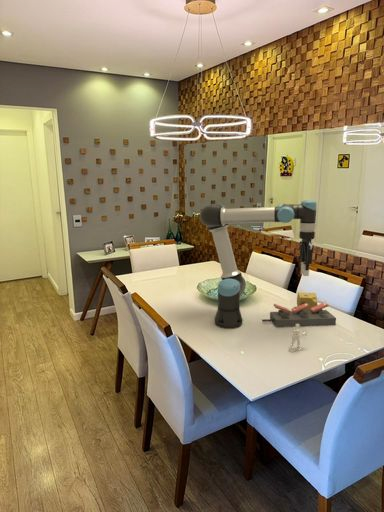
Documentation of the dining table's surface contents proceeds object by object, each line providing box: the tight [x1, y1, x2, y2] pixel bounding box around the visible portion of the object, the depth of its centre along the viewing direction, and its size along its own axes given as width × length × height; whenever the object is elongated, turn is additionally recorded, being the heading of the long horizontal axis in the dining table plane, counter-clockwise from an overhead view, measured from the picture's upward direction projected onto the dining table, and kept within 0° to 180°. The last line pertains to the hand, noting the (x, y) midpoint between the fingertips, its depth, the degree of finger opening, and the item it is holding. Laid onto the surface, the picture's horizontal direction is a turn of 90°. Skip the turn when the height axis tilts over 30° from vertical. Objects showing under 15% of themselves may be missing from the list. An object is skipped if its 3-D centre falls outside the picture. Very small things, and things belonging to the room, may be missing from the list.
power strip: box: [261, 309, 337, 328], centre depth 192 cm, size 38×12×6 cm, turn 94°
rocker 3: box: [310, 301, 329, 312], centre depth 194 cm, size 9×4×2 cm, turn 93°
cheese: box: [296, 291, 318, 311], centre depth 207 cm, size 10×11×10 cm
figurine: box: [288, 324, 308, 353], centre depth 161 cm, size 5×9×12 cm, turn 124°
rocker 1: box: [273, 303, 292, 313], centre depth 193 cm, size 9×4×2 cm, turn 94°
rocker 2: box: [291, 303, 310, 313], centre depth 193 cm, size 9×4×2 cm, turn 94°
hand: (304, 274), depth 186 cm, fingers open, 3 cm apart
